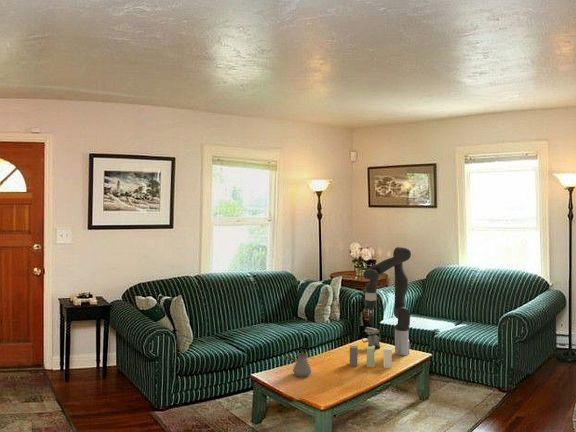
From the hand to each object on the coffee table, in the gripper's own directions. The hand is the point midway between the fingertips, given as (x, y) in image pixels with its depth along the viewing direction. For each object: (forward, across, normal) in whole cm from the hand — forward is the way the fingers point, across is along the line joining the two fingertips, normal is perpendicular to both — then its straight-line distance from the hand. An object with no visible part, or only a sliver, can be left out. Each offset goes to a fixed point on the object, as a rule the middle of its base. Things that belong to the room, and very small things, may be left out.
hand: (370, 323), depth 340 cm
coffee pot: (+26, +39, -45) cm, 65 cm away
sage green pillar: (+26, +10, 0) cm, 28 cm away
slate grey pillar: (+26, +10, -11) cm, 30 cm away
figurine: (+26, -28, +1) cm, 38 cm away
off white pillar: (+26, +10, +11) cm, 30 cm away
